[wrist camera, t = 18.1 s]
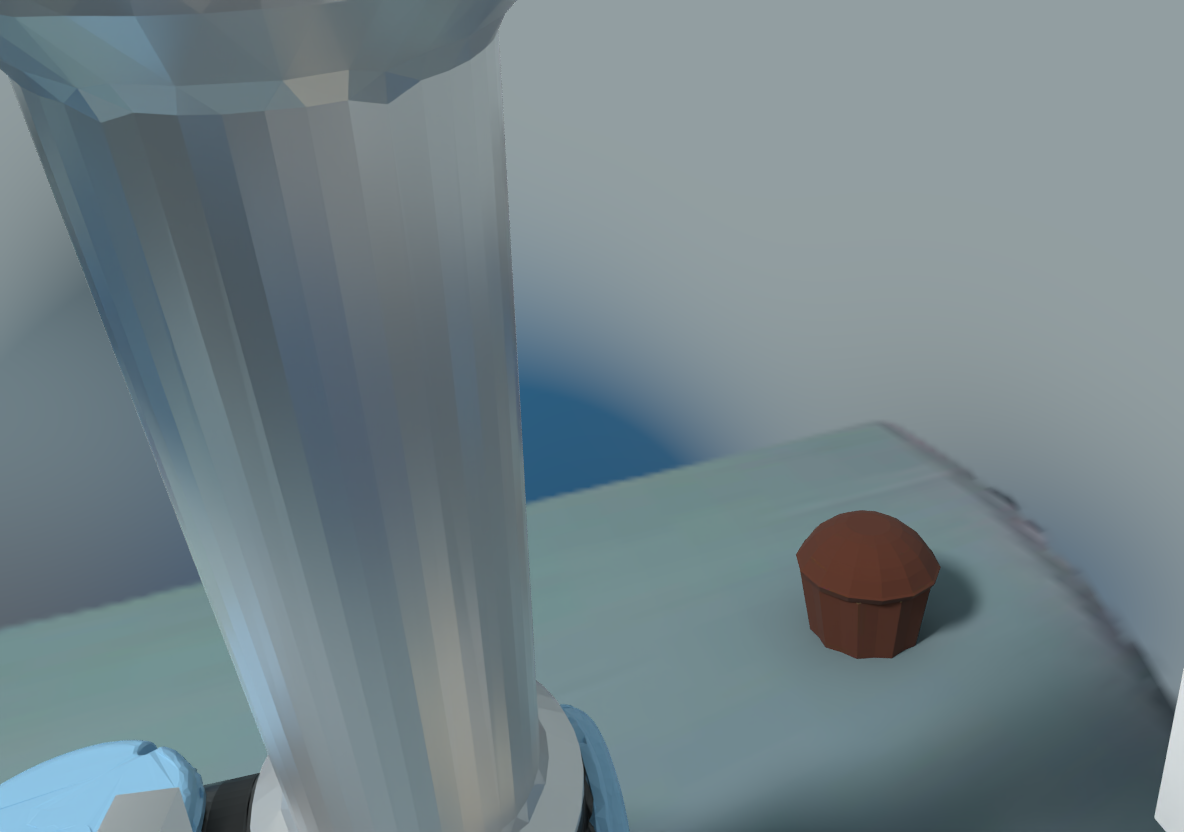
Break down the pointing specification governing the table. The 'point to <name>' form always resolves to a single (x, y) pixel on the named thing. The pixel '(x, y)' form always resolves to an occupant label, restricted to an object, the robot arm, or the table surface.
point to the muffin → (866, 583)
